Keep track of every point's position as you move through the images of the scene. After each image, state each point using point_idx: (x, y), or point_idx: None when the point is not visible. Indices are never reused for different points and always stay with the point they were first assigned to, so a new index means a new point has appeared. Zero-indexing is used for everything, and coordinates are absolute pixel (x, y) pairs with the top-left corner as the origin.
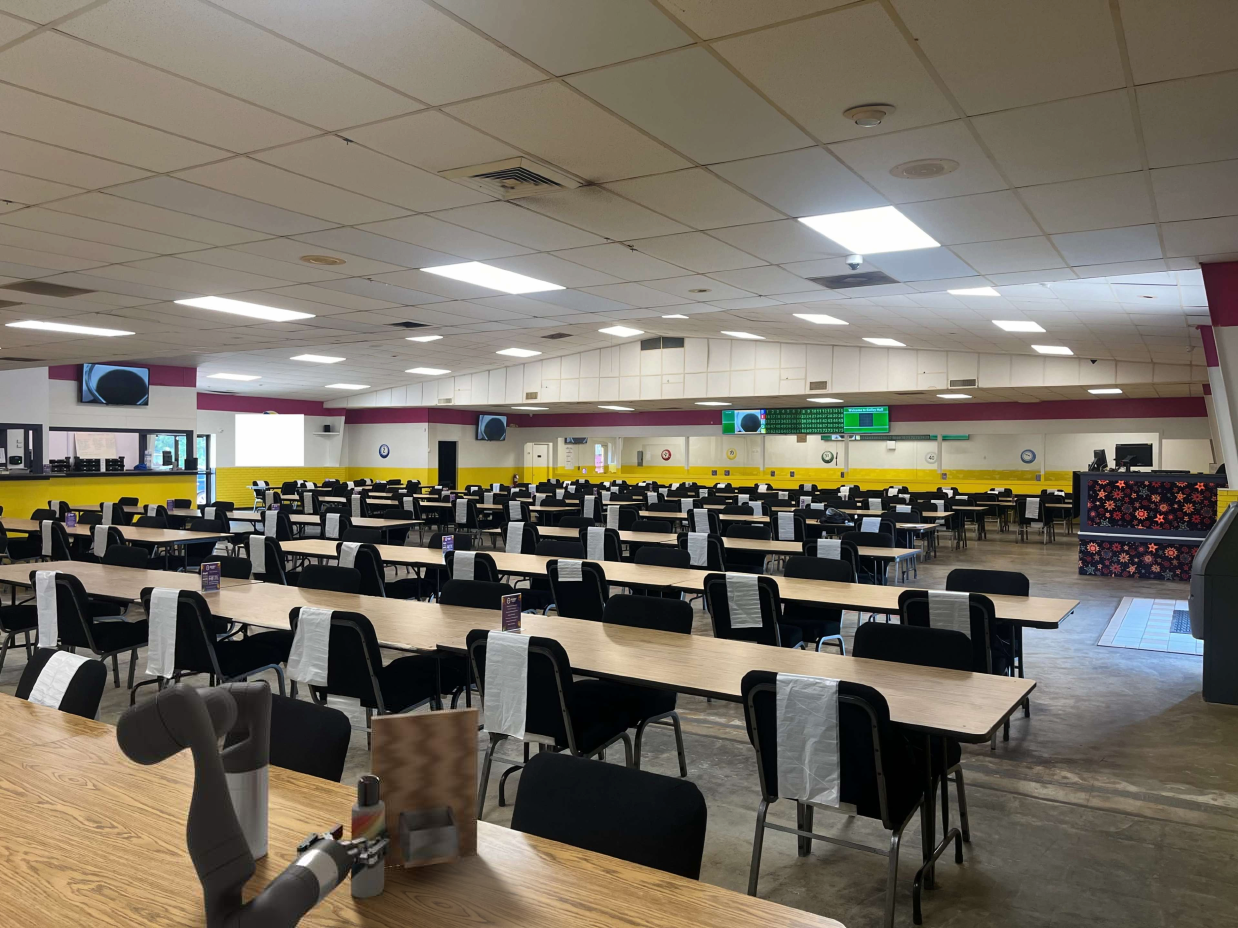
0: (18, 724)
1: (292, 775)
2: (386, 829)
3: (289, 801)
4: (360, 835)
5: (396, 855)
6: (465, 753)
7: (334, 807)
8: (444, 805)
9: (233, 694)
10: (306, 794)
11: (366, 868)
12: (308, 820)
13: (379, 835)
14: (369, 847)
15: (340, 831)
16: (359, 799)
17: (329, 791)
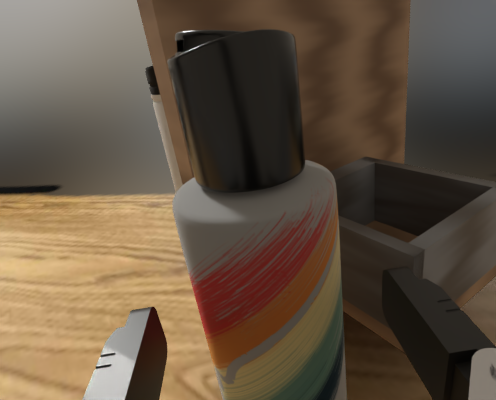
0: None
1: (8, 199)
2: (413, 274)
3: (5, 232)
4: (277, 336)
5: None
6: (389, 17)
7: (79, 223)
8: (355, 157)
9: None
10: (31, 216)
11: None
12: (41, 254)
13: (462, 336)
14: (323, 365)
15: (155, 342)
16: (218, 160)
17: (64, 205)
